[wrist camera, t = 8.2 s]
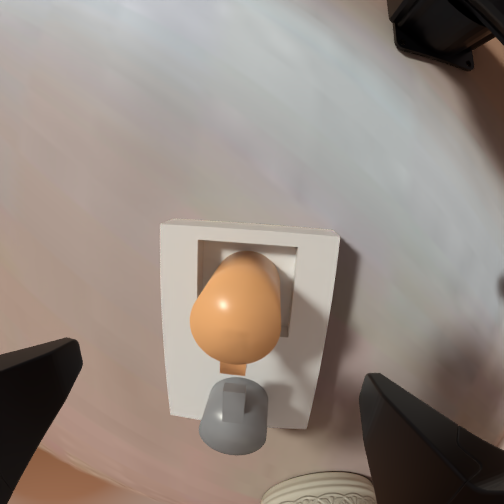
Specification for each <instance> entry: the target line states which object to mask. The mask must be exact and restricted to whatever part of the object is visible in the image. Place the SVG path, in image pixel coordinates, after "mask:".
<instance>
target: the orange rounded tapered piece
mask: <svg viewBox="0 0 504 504" xmlns="http://www.w3.org/2000/svg"><path fill="white" fill-rule="evenodd" d="M190 329H191V333H192V335H193V338H194V339H195V341H196V343H197V344H198V346H199V347H200V348H201V349H202V350H203V351H204V352H205V353H206V354H208V355H209V356H210V357H212V358H214V359H216V360H218V361H220V373H222V374H230V375H240V376H245V374H246V368H247V364H249V363H253V362H256V361H258V360H260V359H262V358H264V357H265V356H266V355H268V354H269V353H270V352H271V351H272V350H273V348H274V347H275V346H276V344H277V342H278V340H279V337H280V333H281V297H280V277H279V273H278V271H277V268H276V267H275V265H274V264H273V263H272V261H271V260H270V259H268V258H267V257H266V256H264V255H262V254H260V253H258V252H254V251H239V252H236V253H233V254H231V255H229V256H228V257H226V258H225V259H224V260H223V261H222V262H221V264H220V265H219V266H218V268H217V269H216V271H215V272H214V274H213V275H212V277H211V278H210V280H209V281H208V283H207V285H206V286H205V288H204V289H203V291H202V292H201V294H200V295H199V297H198V298H197V300H196V301H195V303H194V305H193V307H192V310H191V313H190Z"/></svg>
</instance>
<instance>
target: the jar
mask: <svg viewBox="0 0 504 504" xmlns="http://www.w3.org/2000/svg"><path fill="white" fill-rule="evenodd" d="M260 504H377V501H376V496H375V491H374V487H373V485H372V483H371V482H370V481H369V480H368V479H367V478H365V477H363V476H360V475H357V474H353V473H345V472H323V473H314V474H309V475H304V476H299V477H295V478H292V479H289V480H286V481H284V482H281V483H279V484H277V485H275V486H274V487H272V488H271V489H269V490H268V491H267V492H266V493H265V494H264V496H263V497H262V500H261V503H260Z"/></svg>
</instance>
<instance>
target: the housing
mask: <svg viewBox="0 0 504 504" xmlns="http://www.w3.org/2000/svg"><path fill="white" fill-rule="evenodd" d="M339 243H340V236H339V235H338V234H337V233H335V232H334V231H333V230H330V229H319V228H307V227H294V226H281V225H268V224H254V223H240V222H225V221H208V220H191V219H171V220H169V221H166V222H164V223H161V224H160V280H161V307H162V326H163V342H164V355H165V367H166V378H167V388H168V397H169V406H170V414H171V415H175V416H180V417H186V418H192V419H198V420H201V423H200V426H199V434H200V437H201V438H202V440H203V441H204V442H205V443H206V444H207V445H208V446H209V447H211V448H212V449H214V450H216V451H218V452H221V453H224V454H229V455H246V454H250V453H253V452H255V451H257V450H259V449H260V448H261V447H262V446H263V445H264V443H265V441H266V433H267V427H269V428H287V429H307V425H308V421H309V417H310V412H311V408H312V403H313V399H314V394H315V390H316V385H317V380H318V375H319V371H320V365H321V360H322V355H323V350H324V344H325V339H326V333H327V327H328V321H329V315H330V309H331V303H332V296H333V289H334V282H335V275H336V267H337V260H338V251H339ZM239 251H254V252H258V253H260V254H262V255H264V256H266V257H267V258H268V259H270V260H271V261H272V263H273V264H274V265H275V267H276V268H277V271H278V273H279V277H280V297H281V333H280V337H279V340H278V342H277V344H276V346H275V347H274V348H273V350H272V351H271V352H270V353H269V354H268V355H266V356H265V357H264V358H262V359H260V360H258V361H256V362H253V363H249V364H247V368H246V374H245V376H240V375H230V374H222V373H220V361H218V360H216V359H214V358H212V357H210V356H209V355H208V354H206V353H205V352H204V351H203V350H202V349H201V348H200V347H199V346H198V344H197V343H196V341H195V339H194V338H193V335H192V333H191V329H190V313H191V310H192V307H193V305H194V303H195V301H196V300H197V298H198V297H199V295H200V294H201V292H202V291H203V289H204V288H205V286H206V285H207V283H208V281H209V280H210V278H211V277H212V275H213V274H214V272H215V271H216V269H217V268H218V266H219V265H220V264H221V262H222V261H223V260H224V259H225V258H226V257H228V256H229V255H231V254H233V253H236V252H239Z"/></svg>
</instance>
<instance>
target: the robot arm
mask: <svg viewBox="0 0 504 504" xmlns="http://www.w3.org/2000/svg"><path fill="white" fill-rule="evenodd" d="M387 5H388V14H389V19H390V21H391V22H392V23H393V31H394V43H395V45H396V47H397V48H398V49H400V50H403V51H407V52H410V53H414V54H417V55H421V56H424V57H428V58H431V59H434V60H437V61H440V62H443V63H446V64H449V65H452V66H455V67H457V68H460V69H463V70H466V71H471V70H473V68H474V62H473V55H472V50H474V49H476V48H477V47H479V46H481V45H483V44H484V43H486V42H488V41H489V40H491V39H493V38H495V37H496V38H497V39H498V40H499V41H500V42H501V43H502V44H503V45H504V0H387ZM400 41H402V42H403V43H404V45H402V44H401V43H400ZM466 63H467V64H468V65H469V66H468V65H467V64H466ZM82 365H83V360H82V356H81V351H80V346H79V343H78V341H77V340H75V339H71V338H63V339H59V340H55V341H51V342H48V343H44V344H40V345H36V346H33V347H29V348H25V349H21V350H17V351H13V352H9V353H5V354H1V355H0V504H7V503H8V501H9V499H10V497H11V495H12V493H13V491H14V489H15V487H16V485H17V483H18V482H19V480H20V478H21V476H22V474H23V472H24V470H25V468H26V467H27V465H28V463H29V461H30V460H31V458H32V456H33V454H34V452H35V451H36V449H37V447H38V446H39V444H40V442H41V440H42V439H43V437H44V435H45V434H46V432H47V430H48V429H49V427H50V425H51V424H52V422H53V420H54V419H55V417H56V415H57V414H58V412H59V411H60V409H61V407H62V406H63V404H64V402H65V401H66V399H67V397H68V395H69V393H70V391H71V389H72V387H73V385H74V382H75V380H76V378H77V376H78V375H79V373H80V371H81V369H82ZM359 405H360V413H361V422H362V431H363V440H364V446H365V451H366V455H367V459H368V464H369V468H370V473H371V477H372V482H373V487H374V491H375V496H376V501H377V504H504V450H502V449H500V448H498V447H496V446H494V445H492V444H490V443H488V442H486V441H484V440H482V439H480V438H479V437H477V436H475V435H474V434H472V433H470V432H469V431H467V430H466V429H464V428H463V427H461V426H458V424H456V423H455V422H453V421H452V420H450V419H448V418H447V417H445V416H444V415H442V414H441V413H439V412H438V411H436V410H435V409H433V408H432V407H430V406H429V405H427V404H426V403H424V402H423V401H421V400H419V399H418V398H416V397H415V396H413V395H412V394H410V393H409V392H407V391H406V390H404V389H403V388H401V387H400V386H398V385H397V384H396V383H394V382H393V381H391V380H390V379H388V378H387V377H385V376H384V375H382V374H381V373H368V374H367V375H366V376H365V379H364V382H363V386H362V389H361V392H360V396H359Z"/></svg>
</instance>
